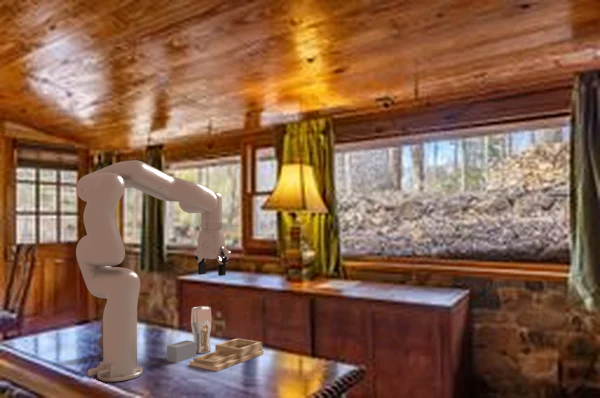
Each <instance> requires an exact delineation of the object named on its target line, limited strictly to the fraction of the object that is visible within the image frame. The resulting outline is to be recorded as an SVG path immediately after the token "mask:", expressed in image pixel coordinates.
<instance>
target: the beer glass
mask: <svg viewBox="0 0 600 398" xmlns="http://www.w3.org/2000/svg"><path fill="white" fill-rule="evenodd" d="M190 315H191V316H190V324H191V330H192V331H191V332H192V336H193V341H194V342H196V354H200V355H201V354H208V353H211V344H210V338H211V337H210V336H211V330H212V320H213V319H212V307H211V306H207V305H200V306H199V305H198V306H194V307H192V308H191V314H190Z"/></svg>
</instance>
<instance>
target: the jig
mask: <svg viewBox="0 0 600 398" xmlns="http://www.w3.org/2000/svg"><path fill="white" fill-rule="evenodd" d="M214 346H215V349H214V350H215V351H212V352H208V353H204V354H203V355H200V356H196V357H193V359H192V360H189V366H192V367H195V368H201V369H205V370H210V371H214V372H220V371H222V370H225V369H227V368H230V367H233V366H235V365H238V364H241V363H244V362H247V361H248V360H252V359H254V358H257V357H258V358H259V357H261V356H264V350H263V342H262V341H257V340H251V339H244V338H238V337H237V338H234V339H231V340H227V341H224V342H221V343H218V344H215V345H214Z"/></svg>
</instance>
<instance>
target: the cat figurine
mask: <svg viewBox="0 0 600 398" xmlns="http://www.w3.org/2000/svg"><path fill="white" fill-rule="evenodd" d="M100 320H101V325H100V328H99V332H100V334H101V336H100V337H99V338H98V341H97V344H98V347H99V348H100V349H101V351H100V352H99V356H100V355H101V356H103V318H102V319H100Z"/></svg>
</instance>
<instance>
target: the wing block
mask: <svg viewBox="0 0 600 398" xmlns="http://www.w3.org/2000/svg"><path fill="white" fill-rule="evenodd" d="M196 357H197V353H196V342H194V340H193V341H192V340H188V339H186V340H183V341H179V342H175V343H172V344H169V345H166V361H167V362H171V363H175V364H177V363H182V362H184V361H187V360H189V359H190V360H191V359H192V358H196Z"/></svg>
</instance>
